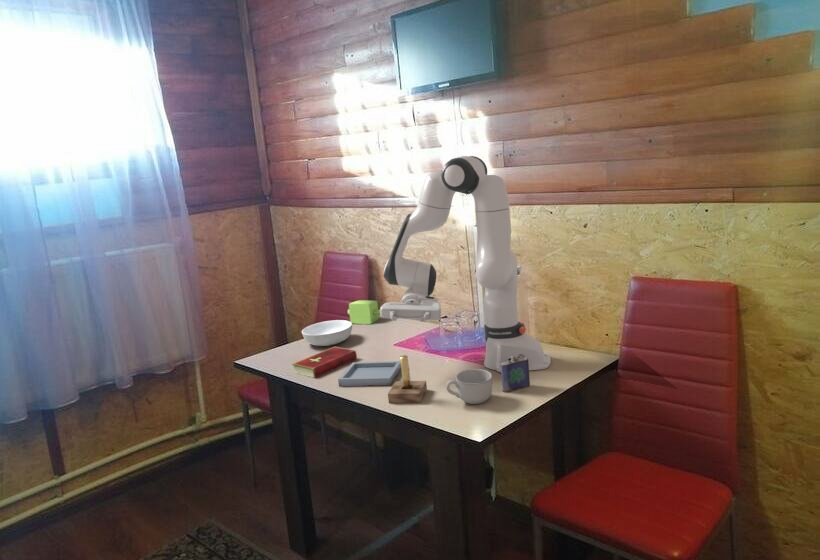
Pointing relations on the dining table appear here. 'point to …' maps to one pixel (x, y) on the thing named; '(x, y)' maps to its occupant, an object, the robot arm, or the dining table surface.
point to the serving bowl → (327, 332)
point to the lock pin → (405, 372)
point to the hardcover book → (324, 361)
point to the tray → (370, 373)
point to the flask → (515, 374)
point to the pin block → (407, 392)
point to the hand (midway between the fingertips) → (408, 318)
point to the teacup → (472, 385)
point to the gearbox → (363, 312)
